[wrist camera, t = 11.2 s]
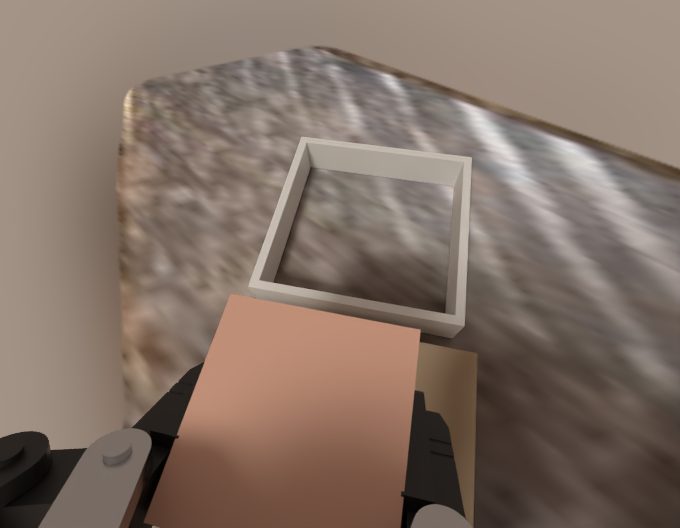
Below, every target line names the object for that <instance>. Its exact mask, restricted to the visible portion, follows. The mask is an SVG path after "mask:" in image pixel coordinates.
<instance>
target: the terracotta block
mask: <svg viewBox="0 0 680 528" xmlns="http://www.w3.org/2000/svg"><path fill="white" fill-rule="evenodd" d="M420 332H421V330H419V329H414V328H409V327H403V326H398V325H393V324H388V323H382V322H377V321H372V320H367V319H361V318H356V317H351V316H345V315H340V314H335V313H330V312H324V311H319V310H314V309H309V308H303V307H298V306H293V305H288V304H282V303H277V302H272V301H266V300H261V299H256V298H251V297H245V296H240V295H235V294H230V297H229V300H228V302H227V305H226V308H225V310H224V313H223V315H222V318H221V321H220V323H219V326H218V328H217V331H216V334H215V336H214V339H213V342H212V344H211V347H210V349H209V352H208V355H207V357H206V360H205V363H204V365H203V368H202V370H201V373H200V376H199V378H198V381H197V384H196V386H195V389H194V391H193V394H192V397H191V399H190V402H189V404H188V407H187V410H186V412H185V415H184V418H183V420H182V423H181V425H180V428H179V431H178V433H177V435H178V436H179V438H178V439H177V438H176V439H175V441H174V444H173V446H172V449H171V452H170V454H169V457H168V460H167V462H166V465H165V467H164V470H163V473H162V475H161V478H160V480H159V483H158V486H157V488H156V491H155V494H154V496H153V499H152V501H151V504H150V507H149V509H148V512H147V515H146V517H145V520H144V522H143V523H146V524H150V525H153V526H157V527H160V528H401V519H402V509H403V499H404V497H401V491H403V492H404V489H405V479H406V469H407V460H408V450H409V440H410V430H411V420H412V410H413V400H414V391H415V381H416V371H417V361H418V351H419V341H420Z"/></svg>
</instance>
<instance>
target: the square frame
mask: <svg viewBox="0 0 680 528" xmlns="http://www.w3.org/2000/svg"><path fill="white" fill-rule="evenodd" d="M471 164H472V157H464V156H456V155H448V154H439V153H431V152H423V151H415V150H407V149H398V148H390V147H382V146H374V145H366V144H357V143H349V142H341V141H333V140H325V139H316V138H308V137H301V140H300V143H299V146H298V148H297V151H296V154H295V157H294V160H293V162H292V165H291V168H290V171H289V174H288V176H287V179H286V182H285V185H284V188H283V190H282V193H281V196H280V199H279V202H278V204H277V207H276V210H275V213H274V216H273V218H272V221H271V224H270V227H269V230H268V232H267V235H266V238H265V241H264V244H263V246H262V249H261V252H260V255H259V258H258V260H257V263H256V266H255V269H254V272H253V274H252V277H251V280H250V283H249V286H248V287H249V288H250V290H251V291H252V293H253V294H254V296H255V297H256V298H257V299H261V300H266V301H272V302H277V303H282V304H288V305H293V306H298V307H303V308H309V309H314V310H319V311H324V312H330V313H335V314H340V315H345V316H351V317H356V318H361V319H367V320H372V321H377V322H382V323H388V324H393V325H398V326H403V327H409V328H414V329H419V330H421V332H420V333H426V334H431V335H436V336H441V337H447V338H453V337H454V336H455V335H456V334H457V333H458V332H459V331H460V330H461V329H462V328H463V327H464V326H465V304H466V281H467V258H468V234H469V211H470V187H471ZM311 167H312V168H320V169H327V170H335V171H342V172H350V173H357V174H365V175H372V176H380V177H387V178H395V179H402V180H410V181H417V182H425V183H432V184H440V185H448V186H454V195H453V209H452V223H451V238H450V252H449V266H448V280H447V295H446V309H445V314H444V313H439V312H433V311H427V310H422V309H416V308H411V307H405V306H400V305H394V304H389V303H383V302H377V301H372V300H366V299H361V298H355V297H350V296H344V295H339V294H333V293H327V292H322V291H316V290H311V289H305V288H300V287H294V286H289V285H283V284H277V283H273V282H274V279H275V276H276V273H277V270H278V267H279V264H280V261H281V258H282V255H283V251H284V248H285V245H286V242H287V239H288V236H289V233H290V230H291V227H292V223H293V220H294V217H295V214H296V211H297V208H298V205H299V202H300V199H301V196H302V192H303V189H304V186H305V183H306V180H307V177H308V174H309V171H310V168H311Z"/></svg>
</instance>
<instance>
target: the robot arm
mask: <svg viewBox="0 0 680 528" xmlns="http://www.w3.org/2000/svg"><path fill="white" fill-rule="evenodd" d="M204 363H205V362H203V363H201V364H199V365H198V366H196V367H194V368H192V369H190V370H189V371H188V372H187V373H186V374H185V375H184V376H183V377H182V378H181V379H180V380H179V382H178V383H176V384H175V385H174V386H173V387H172V388H171V389H170V391H169V392H167V393H166V394H165V395H164V396H163V397H162V398H161V399H160V400H159V401H158V402H157V403H156V404H155V405H154V406H153V407H152V408H151V409H150V410H149V411H148V412H147V413H146V414H145V415H144V416H143V417H142V418H141V419H140V420H139V421H138V422H137V423H136V424H135V425H134V426H133V427H132V428H128V429H121V430H117V431H114V432H111V433H109V434H106V435H104V436H103V437H101V438H99V439H98V440H96V441H95V442H94V443H92V444H91V445H90V446H89V447H88V448H83V449H64V450H50V445H49V440H48V438H47V437H46V436H45V435H44V434H42V433H40V432H33V431H29V432H20V433H15V434H11V435H8V436H5V437H2V438H0V528H157V526H153V525H150V524H146V523H143V522H144V520H145V517H146V515H147V512H148V509H149V507H150V504H151V501H152V499H153V496H154V494H155V491H156V488H157V486H158V483H159V480H160V478H161V475H162V473H163V470H164V467H165V465H166V462H167V460H168V457H169V454H170V452H171V449H172V446H173V444H174V441H175V439H176V438H177V439H178V438H179V436H178V435H177V433H178V431H179V428H180V425H181V423H182V420H183V418H184V415H185V412H186V410H187V407H188V404H189V402H190V399H191V397H192V394H193V391H194V389H195V386H196V384H197V381H198V378H199V376H200V373H201V370H202V368H203V365H204ZM401 497H404V499H403V509H402V519H401V528H473V527H472V526H471V525H470V523H469V522H468V521H467V519H466V516H465V513H464V507H463V502H462V496H461V491H460V486H459V480H458V475H457V469H456V464H455V460H454V453H453V447H452V442H451V437H450V431H449V427H448V426H447V424H446V423H445V421H444V419H443V418H442V416H441V415H440V413H437V412H432V411H427V410H426V406H425V397H424V392H422V391H417V390H415V391H414V400H413V410H412V420H411V430H410V440H409V450H408V460H407V469H406V479H405V489H404V492H403V491H401Z"/></svg>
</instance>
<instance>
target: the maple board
mask: <svg viewBox="0 0 680 528" xmlns="http://www.w3.org/2000/svg"><path fill="white" fill-rule="evenodd" d="M477 354H478V353H474V352H469V351H464V350H459V349H453V348H448V347H443V346H438V345H433V344H427V343H422V342H419V351H418V361H417V371H416V381H415V390H417V391H422V392H424V397H425V406H426V410H427V411H432V412H437V413H440V415H441V416H442V418H443V419H444V421H445V423H446V424H447V426H448V427H449V431H450V437H451V442H452V447H453V453H454V460H455V464H456V469H457V475H458V480H459V486H460V491H461V496H462V502H463V507H464V513H465V516H466V519H467V521H468V522H469V523H470V525H471V526H472V527H473V520H474V479H475V437H476V396H477Z"/></svg>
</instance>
